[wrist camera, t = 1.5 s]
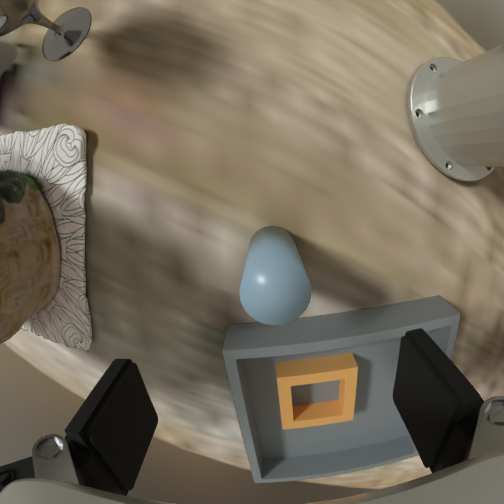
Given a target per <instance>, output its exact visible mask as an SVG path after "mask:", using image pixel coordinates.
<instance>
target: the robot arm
mask: <svg viewBox="0 0 504 504" xmlns="http://www.w3.org/2000/svg"><path fill="white" fill-rule="evenodd" d="M407 111H408V118H409V122H410V126H411V129H412V132H413V134H414V137H415V139H416V142H417V143H418V145H419V147H420V149H421V150H422V152H423V154H424V155H425V156H426V157H427V159H428V160H429V161H430V162H431V164H432V165H434V166H435V167H436V168H437V169H438V170H439V171H440V172H442V173H443V174H445V175H447V176H448V177H451V178H453V179H456V180H461V181H477V180H480V179H483V178H485V177H486V176H488V175H489V174H490V173H491V172H492V171H493V170H494V169H495V168H496V167H502V168H504V45H501V46H499V47H496V48H494V49H492V50H490V51H487V52H485V53H483V54H480V55H478V56H476V57H474V58H471V59H469V60H467V61H465V62H462V61H459V60H456V59H453V58H447V57H440V58H434V59H432V60H430V61H428V62H426V63H424V64H423V65H422V66H420V67H419V68H418V69H417V71H416V72H415V73H414V74H413V76H412V79H411V81H410V83H409V88H408V92H407ZM415 113H416V114H417V116H416V114H415ZM393 401H394V404H395V406H396V408H397V410H398V412H399V414H400V416H401V418H402V420H403V422H404V424H405V426H406V428H407V430H408V432H409V434H410V436H411V439H412V441H413V443H414V445H415V447H416V449H417V451H418V454H419V456H420V458H421V460H422V462H423V464H424V466H425V467H426V468H428V467H429V468H430V470H431V472H432V474H429V475H426V476H423V477H420V478H417V479H414V480H411V481H408V482H405V483H401V484H398V485H395V486H391V487H388V488H384V489H380V490H376V491H373V492H368V493H364V494H360V495H355V496H351V497H345V498H340V499H334V500H329V501H322V502H315V503H307V504H504V397H502V396H495V397H491V398H489V399H487V400H486V401H485V402H484V400H483V399H482V398H481V396H480V395H479V393H478V392H477V391H476V390H475V388H474V387H473V386H472V385H471V383H470V382H469V381H468V380H467V379H466V377H465V376H464V375H463V374H462V373H461V372H460V370H459V369H458V368H457V367H456V366H455V365H454V363H453V362H452V361H451V360H450V359H449V358H448V356H447V355H446V354H445V353H444V352H443V351H442V350H441V348H440V347H439V346H438V345H437V344H436V343H435V342H434V341H433V340H432V338H431V337H430V336H429V335H428V334H427V333H426V332H425V331H424V330H423V329H422V328H419V329H414V330H410V331H407V332H406V333H405V336H402V337H401V341H400V349H399V357H398V364H397V371H396V377H395V383H394V389H393ZM157 423H158V416H157V413H156V411H155V409H154V407H153V404H152V402H151V400H150V397H149V395H148V392H147V390H146V387H145V385H144V382H143V380H142V377H141V375H140V372H139V369H138V367H137V365H136V364H135V363H133V362H132V361H131V360H130V359H115V360H114V361H113V362H112V364H111V365H110V366H109V368H108V369H107V370H106V372H105V373H104V375H103V376H102V377H101V379H100V380H99V382H98V383H97V384H96V386H95V387H94V389H93V390H92V391H91V393H90V394H89V396H88V397H87V399H86V400H85V402H84V403H83V404H82V406H81V407H80V409H79V410H78V412H77V413H76V414H75V416H74V417H73V419H72V420H71V422H70V423H69V425H68V426H67V428H66V429H65V432H66V434H67V435H66V437H65V438H64V437H63V436H61V435H58V434H48V435H45V436H43V437H41V438H40V439H38V440H37V441H36V442H35V443H34V445H33V448H32V457H28V458H26V459H23V460H19V461H16V462H13V463H10V464H7V465H4V466H1V467H0V504H173V503H165V502H158V501H151V500H145V499H140V498H135V497H129V496H127V493H128V491H129V490H132V489H133V487H134V484H135V481H136V479H137V476H138V473H139V471H140V468H141V465H142V463H143V460H144V457H145V455H146V452H147V450H148V447H149V444H150V442H151V439H152V437H153V434H154V432H155V429H156V426H157Z"/></svg>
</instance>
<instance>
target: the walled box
mask: <svg viewBox="0 0 504 504" xmlns="http://www.w3.org/2000/svg"><path fill="white" fill-rule="evenodd" d="M460 315H461V313H459V312H458V311H457V310H456V309H455V308H454V307H452V306H451V305H450V304H449V303H448V302H447V301H445V300H444V299H443V298H442V297H441V296H434V297H429V298H424V299H419V300H414V301H409V302H403V303H398V304H392V305H386V306H380V307H374V308H368V309H362V310H355V311H349V312H342V313H335V314H327V315H320V316H312V317H304V318H297V319H295V320H293V321H292V322H289V323H286V324H282V325H267V324H264V323H261V322H257V323H246V324H235V325H228V328H227V332H226V336H225V340H224V344H223V348H222V353H223V358H224V362H225V367H226V371H227V376H228V380H229V384H230V389H231V393H232V397H233V402H234V406H235V410H236V414H237V418H238V422H239V426H240V430H241V434H242V438H243V442H244V446H245V449H246V453H247V457H248V461H249V464H250V468H251V472H252V475H253V479H254V482H255V483H266V482H283V481H295V480H305V479H313V478H320V477H327V476H334V475H340V474H345V473H351V472H356V471H360V470H365V469H370V468H374V467H378V466H382V465H386V464H390V463H393V462H397V461H401V460H404V459H407V458H411V457H414V456H417V455H419V454H418V451H417V449H416V447H415V445H414V443H413V441H412V439H411V436H410V434H409V432H408V430H407V428H406V426H405V424H404V422H403V420H402V418H401V416H400V414H399V412H398V410H397V408H396V406H395V404H394V401H393V389H394V383H395V377H396V371H397V364H398V357H399V349H400V341H401V337H402V336H405V333H406V332H407V331H410V330H414V329H419V328H422V329H423V330H424V331H425V332H426V333H427V334H428V335H429V336H430V337H431V338H432V340H433V341H434V342H435V343H436V344H437V345H438V346H439V347H440V348H441V350H442V351H443V352H444V353H445V354H446V355H447V356H448V358H449V359H450V360H451V359H452V355H453V351H454V346H455V342H456V337H457V332H458V327H459V321H460ZM346 353H352V354H353V356H354V359H355V361H356V363H357V366H358V373H357V386H356V397H355V407H354V416H353V420H350V421H344V422H339V423H332V424H326V425H319V426H311V427H303V428H294V429H284V430H283V429H282V420H281V411H280V402H279V393H278V384H277V370H276V362H285V361H295V360H303V359H311V358H319V357H326V356H333V355H340V354H346ZM339 383H340V380H334V381H327V382H320V383H313V384H305V385H296V386H291V396H292V406H295V405H304V404H312V403H320V402H327V401H333V400H339Z"/></svg>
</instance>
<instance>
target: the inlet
mask: <svg viewBox="0 0 504 504" xmlns="http://www.w3.org/2000/svg"><path fill="white" fill-rule="evenodd" d="M276 370H277V384H278V393H279V402H280V411H281V420H282V429H283V430H284V429H294V428H303V427H311V426H319V425H326V424H332V423H339V422H344V421H350V420H353V416H354V407H355V397H356V386H357V373H358V366H357V363H356V361H355V359H354V356H353V354H352V353H346V354H340V355H333V356H326V357H319V358H311V359H303V360H295V361H285V362H276ZM334 380H340V383H339V400H333V401H327V402H320V403H312V404H304V405H295V406H292V396H291V386H296V385H305V384H313V383H320V382H327V381H334Z"/></svg>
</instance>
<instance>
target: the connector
mask: <svg viewBox="0 0 504 504" xmlns="http://www.w3.org/2000/svg"><path fill="white" fill-rule="evenodd" d="M310 299H311V285H310V281H309V279H308V276H307V273H306V271H305V268H304V265H303V263H302V260H301V257H300V255H299V252H298V250H297V247H296V244H295V242H294V240H293V237H292V236H291V235H290V233H289V232H287V231H286V230H285V229H283V228H281V227H277V226H268V227H264V228H262V229H260V230H259V231H257V232H256V233H255V234H254V236H253V237H252V239H251V242H250V246H249V250H248V254H247V259H246V263H245V268H244V272H243V276H242V281H241V285H240V300H241V303H242V306H243V308H244V309H245V311H246V312H247V313H248V314H249V315H250V316H251V317H252V318H253V319H255V320H256V321H258V322H261V323H264V324H267V325H282V324H286V323H289V322H292V321H293V320H295V319H297V318H298V317H299V316H300V315H301V314H303V312H304V311H305V310H306V308H307V307H308V304H309V302H310Z"/></svg>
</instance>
